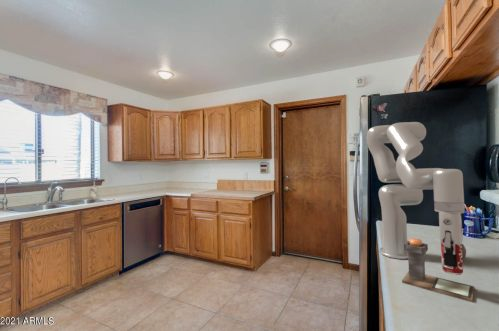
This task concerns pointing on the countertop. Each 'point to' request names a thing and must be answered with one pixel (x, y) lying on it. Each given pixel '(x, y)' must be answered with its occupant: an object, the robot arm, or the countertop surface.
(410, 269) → the activity board
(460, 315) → the countertop surface
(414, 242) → the button
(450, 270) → the soda can
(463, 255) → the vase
